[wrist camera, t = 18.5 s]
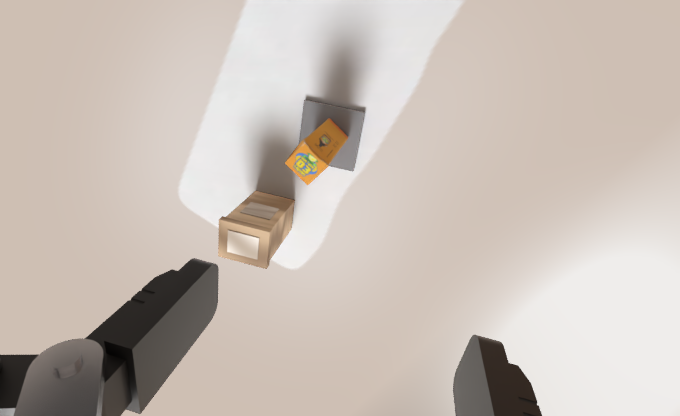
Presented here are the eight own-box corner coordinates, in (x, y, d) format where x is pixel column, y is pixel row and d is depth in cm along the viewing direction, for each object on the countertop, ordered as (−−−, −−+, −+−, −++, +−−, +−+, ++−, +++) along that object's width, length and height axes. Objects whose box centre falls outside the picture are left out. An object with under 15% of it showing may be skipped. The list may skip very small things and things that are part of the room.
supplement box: (310, 137, 42) (281, 161, 33) (329, 116, 40) (304, 136, 31) (330, 157, 42) (307, 187, 33) (350, 137, 41) (331, 163, 32)
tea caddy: (254, 188, 47) (218, 219, 38) (296, 199, 46) (269, 232, 38) (252, 220, 49) (217, 256, 40) (292, 230, 48) (266, 269, 40)
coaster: (305, 99, 41) (304, 100, 40) (365, 112, 40) (364, 112, 39) (298, 157, 44) (297, 158, 43) (353, 170, 43) (353, 171, 42)
